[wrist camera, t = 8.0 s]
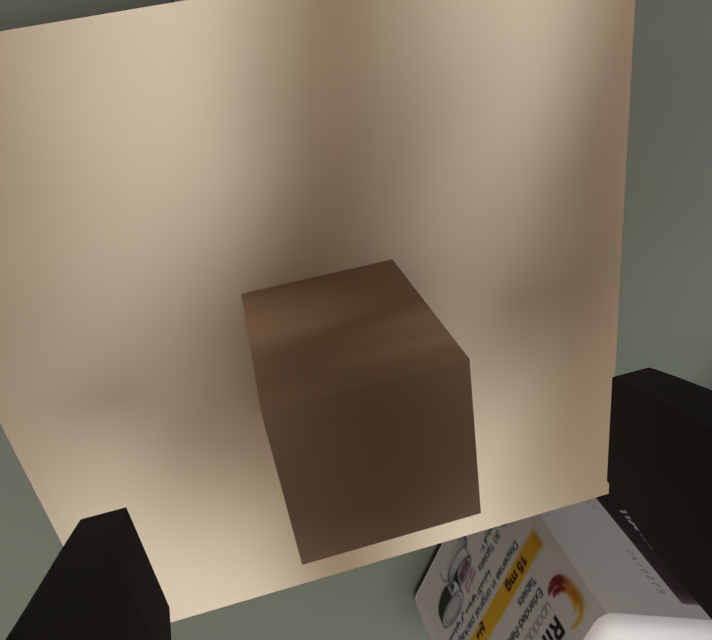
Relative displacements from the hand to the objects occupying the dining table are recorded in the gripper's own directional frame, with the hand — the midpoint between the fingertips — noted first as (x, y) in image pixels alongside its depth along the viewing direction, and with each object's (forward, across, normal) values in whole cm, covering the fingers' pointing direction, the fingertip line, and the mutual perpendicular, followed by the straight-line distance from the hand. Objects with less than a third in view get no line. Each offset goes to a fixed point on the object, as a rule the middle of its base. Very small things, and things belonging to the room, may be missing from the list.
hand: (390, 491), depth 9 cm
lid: (+5, 0, 0) cm, 5 cm away
